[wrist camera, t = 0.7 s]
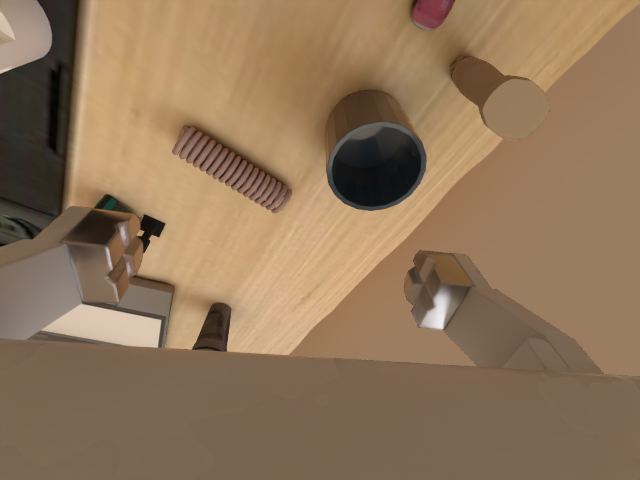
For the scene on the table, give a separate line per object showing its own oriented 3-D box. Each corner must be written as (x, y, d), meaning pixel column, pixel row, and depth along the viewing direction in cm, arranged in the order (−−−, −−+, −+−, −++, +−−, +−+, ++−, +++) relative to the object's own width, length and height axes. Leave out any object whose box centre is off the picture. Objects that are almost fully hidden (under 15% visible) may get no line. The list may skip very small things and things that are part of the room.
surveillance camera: (129, 290, 51) (56, 265, 47) (157, 240, 60) (98, 215, 56) (138, 269, 48) (61, 241, 44) (167, 219, 57) (105, 192, 53)
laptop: (175, 283, 68) (111, 435, 46) (165, 347, 84) (114, 481, 63) (-25, 237, 59) (-217, 397, 38) (7, 318, 75) (-116, 462, 54)
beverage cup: (237, 319, 76) (218, 409, 61) (205, 317, 76) (178, 407, 61) (237, 300, 72) (216, 392, 57) (203, 297, 71) (172, 390, 56)
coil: (294, 200, 49) (179, 128, 42) (277, 221, 51) (164, 156, 44) (294, 186, 53) (188, 117, 45) (278, 206, 55) (174, 143, 47)
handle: (458, 34, 39) (516, 66, 28) (494, 65, 41) (561, 107, 30) (429, 71, 42) (471, 115, 30) (464, 99, 44) (515, 149, 33)
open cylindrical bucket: (333, 82, 42) (337, 114, 34) (418, 97, 44) (442, 130, 35) (319, 163, 50) (319, 204, 42) (392, 173, 51) (407, 215, 43)
